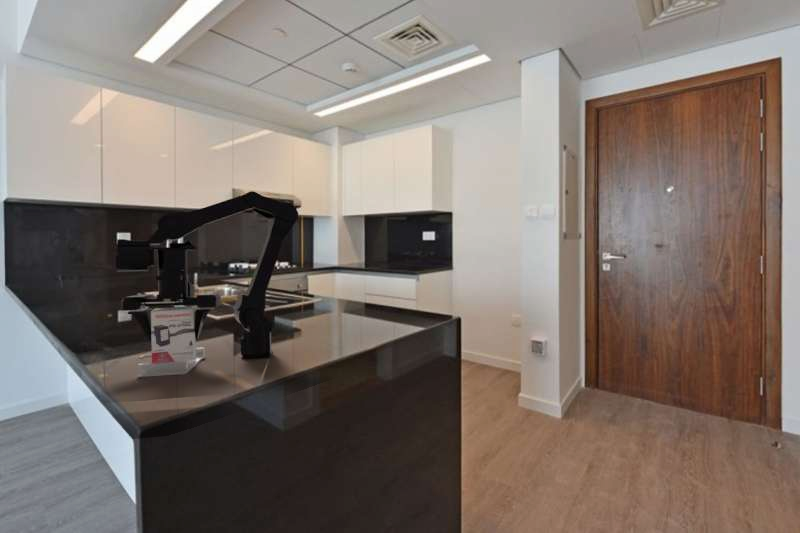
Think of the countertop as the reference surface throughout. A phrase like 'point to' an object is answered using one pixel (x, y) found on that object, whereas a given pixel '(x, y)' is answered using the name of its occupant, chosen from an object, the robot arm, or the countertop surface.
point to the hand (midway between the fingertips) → (174, 339)
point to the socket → (170, 366)
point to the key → (144, 356)
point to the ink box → (173, 334)
